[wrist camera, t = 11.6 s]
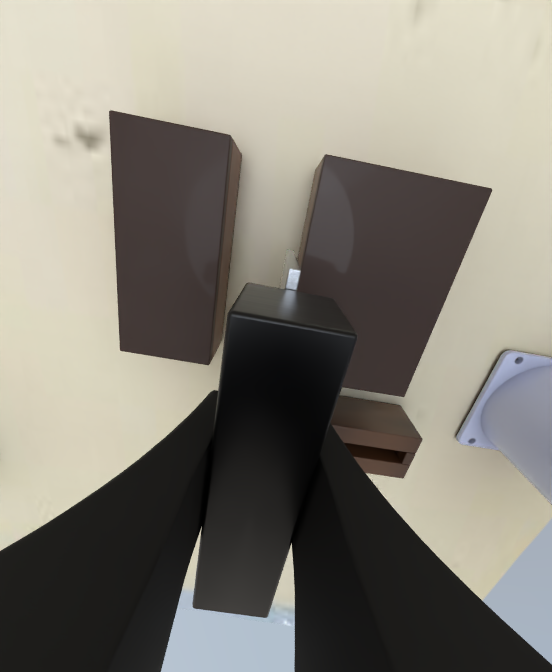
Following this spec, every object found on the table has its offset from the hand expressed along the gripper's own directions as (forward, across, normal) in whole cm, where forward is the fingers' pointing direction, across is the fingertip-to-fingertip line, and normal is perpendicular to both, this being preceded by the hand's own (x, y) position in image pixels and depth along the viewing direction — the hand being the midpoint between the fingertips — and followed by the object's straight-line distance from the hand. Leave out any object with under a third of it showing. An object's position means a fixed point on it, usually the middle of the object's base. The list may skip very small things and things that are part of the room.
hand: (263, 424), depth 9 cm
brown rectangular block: (+10, +6, -3) cm, 12 cm away
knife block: (+10, -4, +7) cm, 13 cm away
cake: (+10, -4, -3) cm, 12 cm away
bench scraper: (+5, 0, 0) cm, 5 cm away
